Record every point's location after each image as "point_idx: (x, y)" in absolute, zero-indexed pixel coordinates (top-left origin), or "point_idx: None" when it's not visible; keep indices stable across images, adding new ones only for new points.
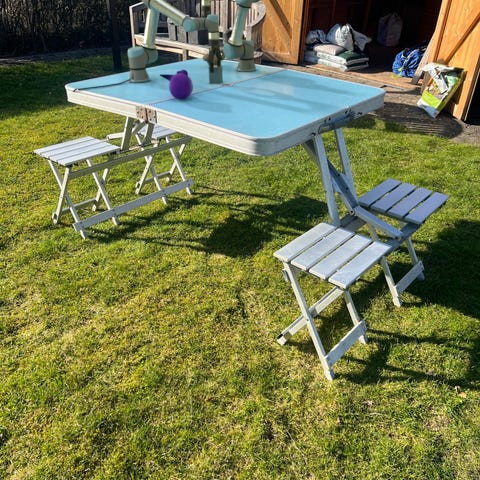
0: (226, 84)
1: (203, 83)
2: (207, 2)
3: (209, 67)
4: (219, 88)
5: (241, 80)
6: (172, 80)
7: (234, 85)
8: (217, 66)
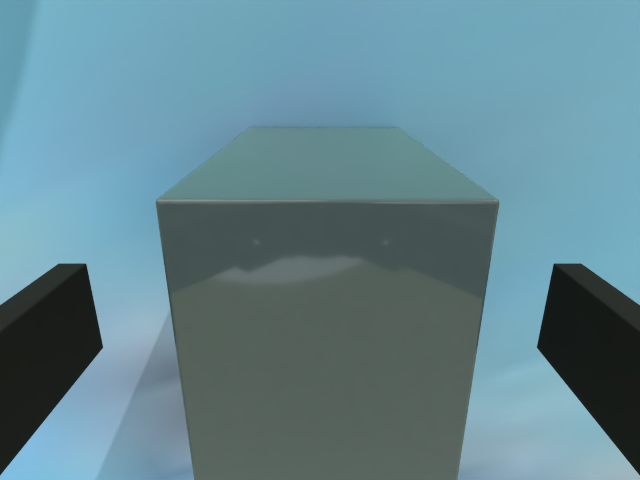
0: None
1: (212, 15)
2: None
3: (162, 226)
4: None
5: (545, 460)
6: None
7: None
8: (327, 430)
